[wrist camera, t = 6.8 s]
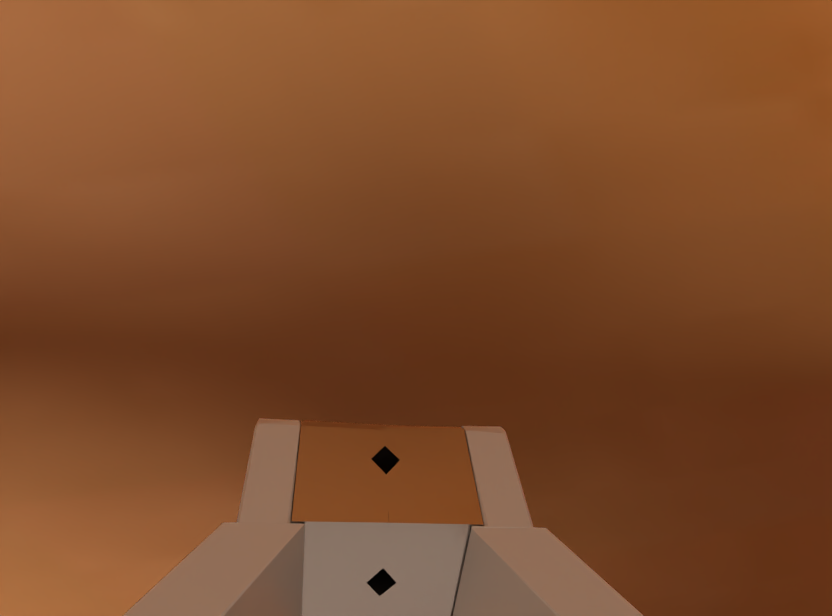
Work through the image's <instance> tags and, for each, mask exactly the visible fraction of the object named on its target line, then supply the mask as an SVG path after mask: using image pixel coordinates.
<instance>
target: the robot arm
mask: <svg viewBox="0 0 832 616" xmlns="http://www.w3.org/2000/svg"><path fill="white" fill-rule="evenodd" d="M123 616H643V615H642V614H641V613H640V612H639V611H638V610H637V609H636V608H635V607H633V606H632V605H631V604H630V603H629V602H628V601H627V600H626V599H625V598H623V597H622V596H621V595H620V594H619V593H618V592H617V591H616V590H615V589H614V588H612V587H611V586H610V585H609V584H608V583H607V582H606V581H605V580H604V579H602V578H601V577H600V576H599V575H598V574H597V573H596V572H595V571H594V570H592V569H591V568H590V567H589V566H588V565H587V564H586V563H585V562H584V561H582V560H581V559H580V558H579V557H578V556H577V555H576V554H575V553H574V552H572V551H571V550H570V549H569V548H568V547H567V546H566V545H565V544H564V543H562V542H561V541H560V540H559V539H558V538H557V537H556V536H555V535H554V534H553V533H551V532H550V531H549V530H548V529H547V528H536V527H534V526H533V523H532V520H531V516H530V513H529V509H528V506H527V502H526V499H525V496H524V492H523V489H522V485H521V482H520V478H519V475H518V472H517V468H516V465H515V461H514V458H513V454H512V451H511V447H510V444H509V441H508V437H507V434H506V431H505V430H504V429H503V428H502V427H501V426H462V427H450V426H414V425H383V424H366V423H349V422H331V421H314V420H302V424H301V421H299V420H284V419H266V418H259V420H258V422H257V424H256V425H255V429H254V434H253V439H252V445H251V450H250V455H249V460H248V465H247V470H246V476H245V481H244V486H243V491H242V496H241V502H240V507H239V512H238V517H237V522H223V523H222V524H221V525H220V526H218V527H217V528H216V529H215V530H214V531H213V532H212V533H211V534H210V535H209V536H208V537H207V538H206V539H204V540H203V541H202V542H201V543H200V544H199V545H198V546H197V547H196V548H195V549H194V550H193V551H192V552H190V553H189V554H188V555H187V556H186V557H185V558H184V559H183V560H182V561H181V562H180V563H179V564H178V565H176V566H175V567H174V568H173V569H172V570H171V571H170V572H169V573H168V574H167V575H166V576H165V577H164V578H162V579H161V580H160V581H159V582H158V583H157V584H156V585H155V586H154V587H153V588H152V589H151V590H150V591H148V592H147V593H146V594H145V595H144V596H143V597H142V598H141V599H140V600H139V601H138V602H137V603H136V604H134V605H133V606H132V607H131V608H130V609H129V610H128V611H127V612H126V613H125V614H124V615H123Z"/></svg>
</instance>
